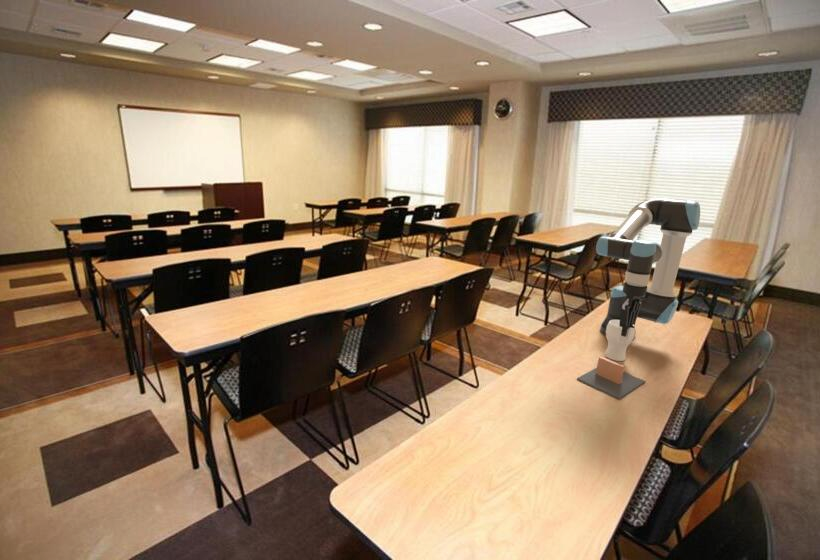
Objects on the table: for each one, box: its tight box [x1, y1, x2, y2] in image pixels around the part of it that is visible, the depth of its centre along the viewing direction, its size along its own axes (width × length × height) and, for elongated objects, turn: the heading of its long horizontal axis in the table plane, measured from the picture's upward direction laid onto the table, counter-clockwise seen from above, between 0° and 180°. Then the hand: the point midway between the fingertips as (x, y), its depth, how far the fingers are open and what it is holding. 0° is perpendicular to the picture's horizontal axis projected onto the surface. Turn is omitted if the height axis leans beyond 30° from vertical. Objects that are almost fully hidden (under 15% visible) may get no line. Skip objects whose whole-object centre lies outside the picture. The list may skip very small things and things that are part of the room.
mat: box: [576, 367, 646, 400], centre depth 152 cm, size 20×16×1 cm
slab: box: [596, 356, 625, 384], centre depth 152 cm, size 2×9×7 cm, turn 37°
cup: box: [604, 320, 636, 362], centre depth 169 cm, size 11×11×15 cm
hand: (623, 343), depth 153 cm, fingers closed
